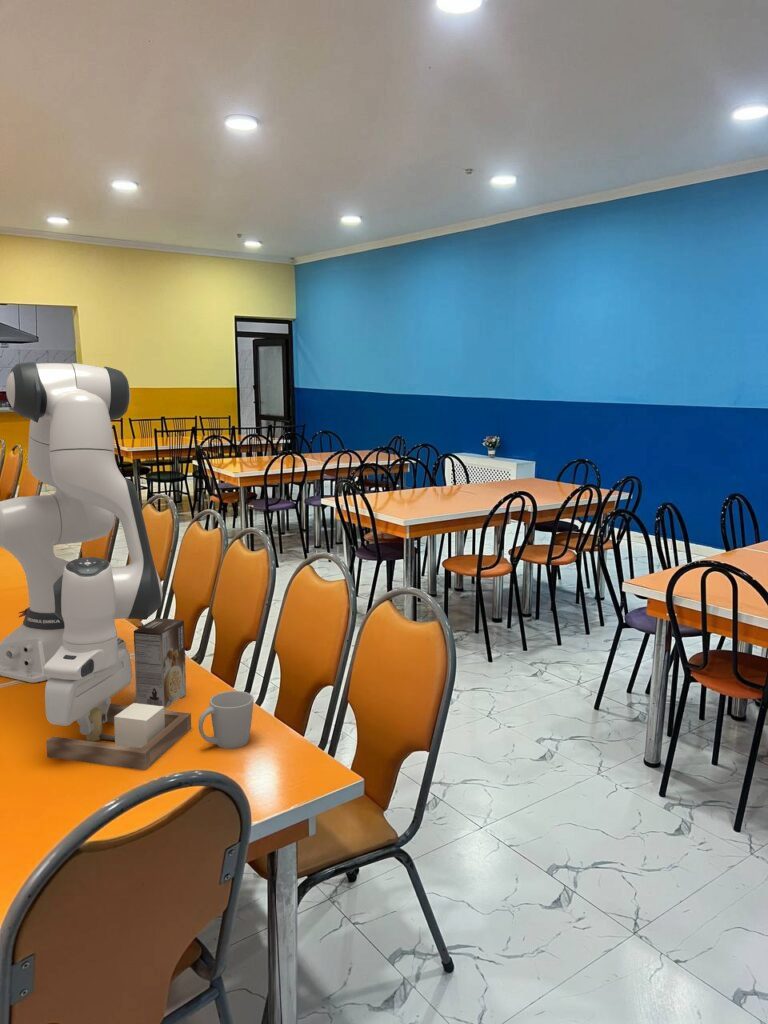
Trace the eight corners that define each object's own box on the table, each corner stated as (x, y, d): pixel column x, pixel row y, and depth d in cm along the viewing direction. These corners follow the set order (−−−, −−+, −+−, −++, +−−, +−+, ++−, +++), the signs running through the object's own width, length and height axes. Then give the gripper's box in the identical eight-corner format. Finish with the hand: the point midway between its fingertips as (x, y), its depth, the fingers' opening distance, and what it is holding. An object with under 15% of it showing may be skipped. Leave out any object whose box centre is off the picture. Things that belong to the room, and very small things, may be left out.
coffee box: (158, 691, 154) (156, 616, 151) (187, 694, 152) (185, 619, 150) (135, 709, 145) (132, 630, 142) (165, 712, 144) (163, 632, 141)
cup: (262, 746, 130) (262, 700, 129) (210, 763, 124) (209, 715, 123) (240, 731, 136) (240, 687, 135) (189, 747, 130) (189, 700, 128)
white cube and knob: (77, 744, 128) (75, 712, 127) (97, 730, 134) (96, 698, 133) (147, 754, 125) (146, 720, 124) (165, 738, 131) (164, 706, 130)
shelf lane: (47, 760, 124) (46, 740, 123) (103, 721, 139) (102, 702, 139) (145, 774, 120) (144, 753, 119) (191, 732, 135) (191, 713, 135)
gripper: (109, 633, 139) (111, 703, 141) (36, 670, 119) (40, 751, 121) (139, 636, 138) (141, 706, 140) (70, 674, 118) (74, 756, 120)
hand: (93, 728), depth 130 cm, fingers closed on white cube and knob, 3 cm apart
